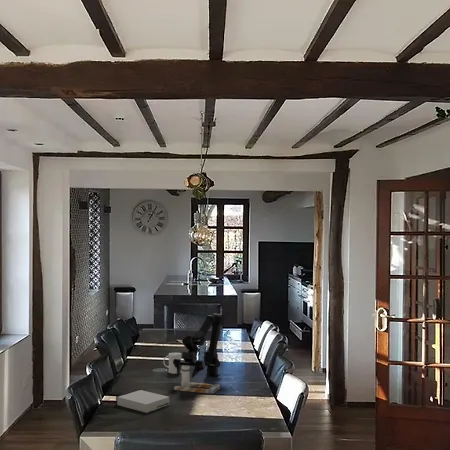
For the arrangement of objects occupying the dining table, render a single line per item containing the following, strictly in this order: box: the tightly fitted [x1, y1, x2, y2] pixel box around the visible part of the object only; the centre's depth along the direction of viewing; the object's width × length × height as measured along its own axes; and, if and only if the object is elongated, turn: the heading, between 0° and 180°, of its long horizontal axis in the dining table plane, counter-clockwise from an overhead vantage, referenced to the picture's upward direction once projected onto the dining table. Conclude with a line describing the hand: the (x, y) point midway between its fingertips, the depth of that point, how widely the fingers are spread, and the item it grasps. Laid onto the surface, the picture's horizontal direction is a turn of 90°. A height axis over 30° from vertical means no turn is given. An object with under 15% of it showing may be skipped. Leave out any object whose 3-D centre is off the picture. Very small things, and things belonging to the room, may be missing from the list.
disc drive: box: [115, 389, 170, 414], centre depth 315 cm, size 18×22×5 cm
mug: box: [163, 352, 182, 375], centre depth 385 cm, size 12×8×12 cm
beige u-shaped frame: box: [173, 381, 221, 394], centre depth 344 cm, size 24×11×2 cm, turn 72°
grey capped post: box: [181, 365, 191, 387], centre depth 346 cm, size 5×5×13 cm
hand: (184, 376), depth 345 cm, fingers open, 9 cm apart
